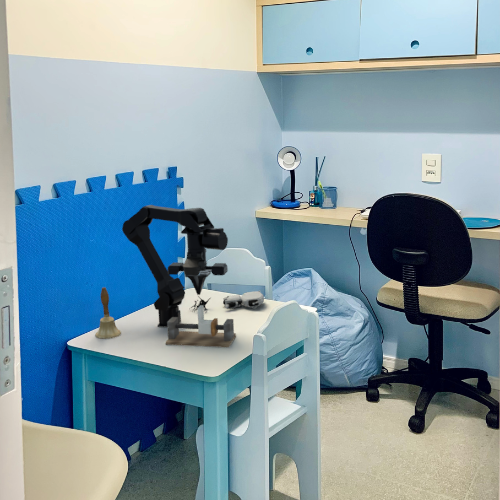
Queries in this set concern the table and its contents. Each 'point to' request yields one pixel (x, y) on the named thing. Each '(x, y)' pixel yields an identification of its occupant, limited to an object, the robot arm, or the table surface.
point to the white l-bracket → (203, 322)
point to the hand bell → (107, 320)
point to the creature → (200, 304)
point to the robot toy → (244, 300)
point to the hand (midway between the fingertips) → (198, 294)
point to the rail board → (200, 339)
